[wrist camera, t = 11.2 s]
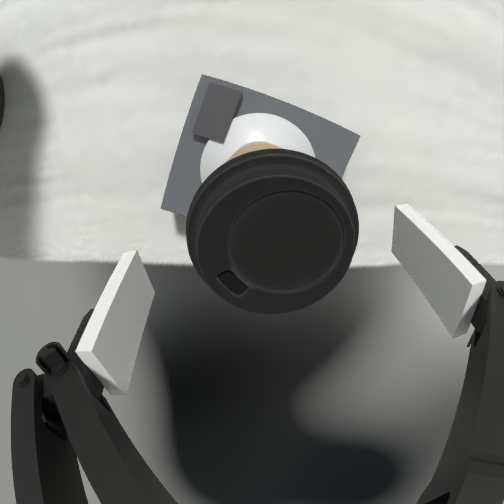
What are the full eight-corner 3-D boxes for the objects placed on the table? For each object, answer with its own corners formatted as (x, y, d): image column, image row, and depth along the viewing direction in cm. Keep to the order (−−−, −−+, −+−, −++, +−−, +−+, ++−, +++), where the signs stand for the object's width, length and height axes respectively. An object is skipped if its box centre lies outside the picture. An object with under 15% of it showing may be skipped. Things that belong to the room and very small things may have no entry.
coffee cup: (194, 196, 28) (159, 295, 16) (231, 105, 24) (222, 123, 11) (282, 229, 31) (311, 339, 18) (325, 147, 26) (402, 209, 13)
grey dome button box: (170, 192, 34) (158, 212, 29) (207, 76, 27) (200, 73, 22) (296, 231, 37) (305, 257, 32) (344, 128, 31) (364, 137, 25)
